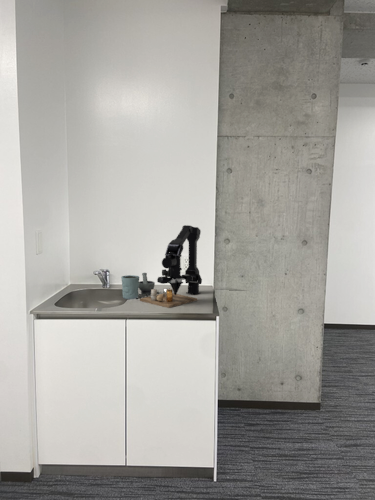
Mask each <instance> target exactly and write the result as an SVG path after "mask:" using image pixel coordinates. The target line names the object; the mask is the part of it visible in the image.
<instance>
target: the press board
mask: <svg viewBox="0 0 375 500" xmlns="http://www.w3.org/2000/svg"><path fill="white" fill-rule="evenodd" d="M157 293H158V289H156V288H154V289H151V294H150V295H149V296H147V297H142V298H139V302H142V303H147V304H151V305H155V306H159V307H164V308H168V309H169V308H174V307H178V306H181V305H186V304H189V303H193V302H197V301H198V298H197V297H192V296H189V295H184V294H178V293H177V294H176V295H175V294H174V292H173V296H172V301H171V302H168V301H166V298H165V296H163V293H159V294H157ZM158 295H162V296H163V300H162V301H158V300H157V296H158Z"/></svg>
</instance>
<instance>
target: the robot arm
mask: <svg viewBox="0 0 375 500" xmlns="http://www.w3.org/2000/svg"><path fill="white" fill-rule="evenodd" d="M201 232H202V231H201V229H200V228H199V227H198V226H197V227H196V226H192V225H188V224H187V225H182V228H181V230H180V232H179V233H178V234H177V236H176V237H175V239H172V240H171V241H170V242H169V243H168V245H167V246H166V249H165V254H164V258H163V259H162V260H161V266H162V267H163V268H165V269H162V270H161V275H162V276H158V277H157V280H156V281H157V283H160V284H162V285H163V284H164V285H165V284H170V286H171V289H172V290H173V293H174V294H175V295H176V294H178V291H179V289H180V287H181V285H182V284H184V281H183V280H185V284H187V285H188V286H187V292H185V293H186V294H189V295H193V296H195V295H196V296H197V295H198V294H201V293H202V292H200V291H199V290H200V285H202V282H203V279H202V276H201V274H200V270H199V268H198V265H197V262H198V260H197V259H198V258H197V255H198V253H197V252H198V245H197V244H198V241H199V240H200V238H201V237H200V236H201ZM186 241H187V242H188V265H187V266H188V267H187V269H185V274H181V271H182V269H183V268H182V267H181V258H182V252H183V251H184V243H185V242H186Z"/></svg>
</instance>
